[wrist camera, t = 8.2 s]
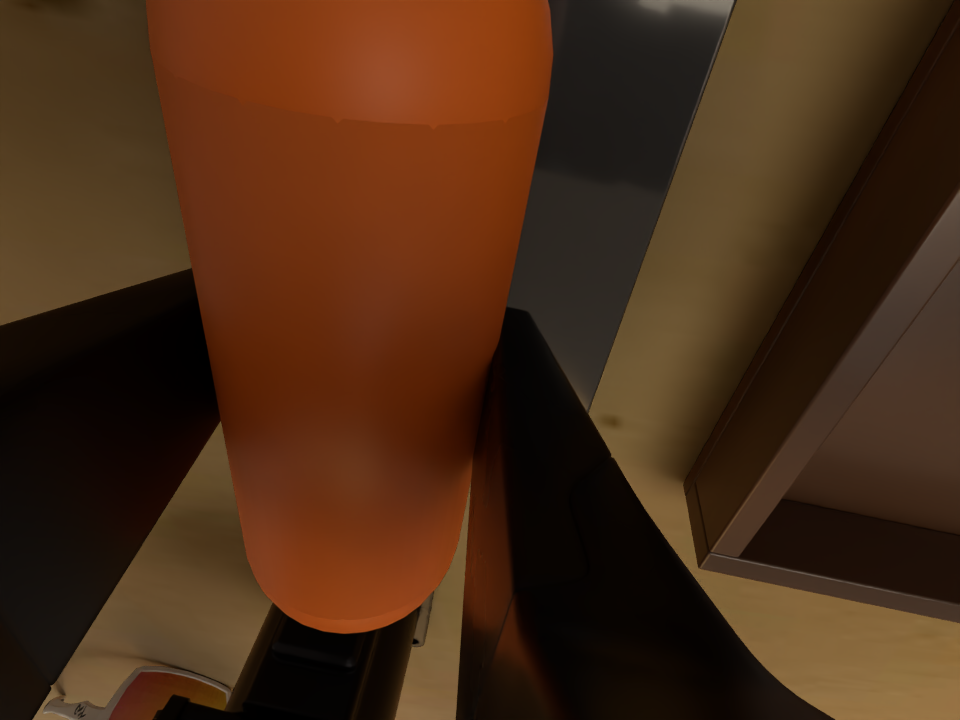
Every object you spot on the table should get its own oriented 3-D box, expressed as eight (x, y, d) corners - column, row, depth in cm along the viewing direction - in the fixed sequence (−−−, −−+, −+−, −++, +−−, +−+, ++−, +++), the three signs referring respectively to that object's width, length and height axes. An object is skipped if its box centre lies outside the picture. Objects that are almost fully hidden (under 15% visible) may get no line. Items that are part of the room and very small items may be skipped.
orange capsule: (463, 517, 12) (427, 694, 10) (300, 484, 13) (217, 648, 10) (596, -138, 6) (606, -189, 3) (246, -201, 6) (-66, -310, 3)
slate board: (572, 430, 17) (571, 460, 16) (280, 370, 18) (263, 396, 17) (797, -220, 9) (824, -238, 8) (216, -323, 9) (173, -351, 8)
